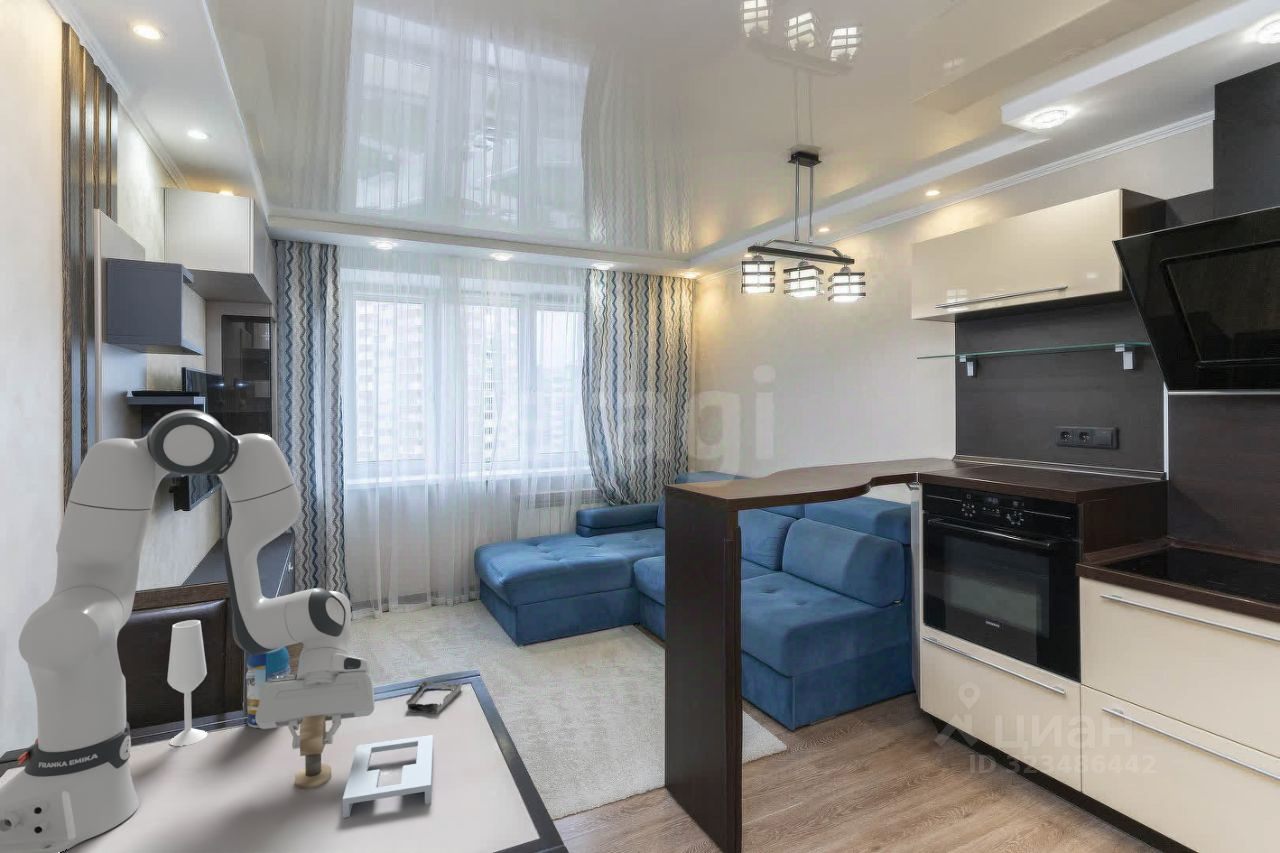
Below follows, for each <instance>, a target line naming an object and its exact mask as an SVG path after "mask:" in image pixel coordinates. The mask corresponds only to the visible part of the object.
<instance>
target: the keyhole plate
mask: <svg viewBox="0 0 1280 853" xmlns="http://www.w3.org/2000/svg"><path fill="white" fill-rule="evenodd" d="M414 747H417V752H416V761H415V763H411V764H405V765H403V766H402V773H401V778H400V779H401V781H400V783H396V784H390V785H386V786H385V785H383V786H378V785H379V780H380V775H381V774H380V773H381V772H380V769H372V770H369V767H370V766H369V765H370V762H371V757H372V753H373V754H374V753H379V752H380V753H381V752H387V751H393V750H400V749H401V750H402V749H407V748H414ZM433 762H434V735H433V734H429V735H422V736H415V737H408V738H401V739H400V738H399V739H393V740H385V741H378V742H372V743H371V742H370V743H365V744H358V745H357V746H356V750H355V753H354V756H353V759H352V763H351V764H352V765H351V768H350V771H349V775H348V778H347V782H346V785H345V789H344V793H343V797H342V819H344V818H350V816H351V812H352V808H353V804H356V803H362V802H369V801H374V800H381V799H386V798H387V799H389V798H393V797H399V796H404V795H405V796H406V795H411V794H417V793H423V792H424V805H427V804H431V803H432V791H433V790H432V788H433V787H432V786H433V768H434V766H433V764H434V763H433Z"/></svg>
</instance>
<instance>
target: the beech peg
mask: <svg viewBox="0 0 1280 853" xmlns="http://www.w3.org/2000/svg"><path fill="white" fill-rule="evenodd" d="M326 723H327V721H325V715H320V716H312V717H304V718H303V721H302V723H301V724H299V735H300V748H299V753H300V754H299V756H300V757H304V759H305V761H304V762H305V767H303V768H302V769H300V770H298V771H297V772H296V774H295V775H294V785H295V787H297V788H298V789H303V790H305V789H313V788H317V787H319V786H322V785H323V784H326V783H327V782H328V781H329V780H331V778H332V766H331V765H330V764H327V763H322V753H323V752H324V749H325V746H326V744H325V745H324V744H323V738H324V736H323V734H324V732H327V729H326V725H327V724H326Z"/></svg>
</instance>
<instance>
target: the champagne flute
mask: <svg viewBox="0 0 1280 853" xmlns="http://www.w3.org/2000/svg"><path fill="white" fill-rule="evenodd" d="M201 623H202V622H201V620H198V619H191V620H185V621H179V622H177V623H175V624H172V628H171V636H170V637H171V639H170V640H171V641H170V648H169V650H170V651H169V660H168V670H167V683H168V685H169V686H170V687H171V688H172V689H173V690H176V691H178V692H179V693H182V694H183V696H184V697H183V704H184V705H183V708H184V712H183V714H184V715H183V716H184V729H183V730H182V731H181V732H179V733H177V735H175V736H173V737H174V738H173V737H172V738H171V739H170V740H171V741H170V740H169V741H170V744H171V745H174V746H180V747H184V746H183V745H186V746H190V745H192V744H196V743H199V742H201V741H202V740H204V739H205V738H206V737H207V736H208V732H207V731H206V730H201V729H197V728H193V727H192V692H193V691H194V690H196V688H197V687H199V685H201V683H202V682H203V681H205V678H206V676H207V675H208V672H207V662H206V656H205V647H204V638H203V632H202V624H201ZM205 731H206V732H205ZM174 746H173V747H174Z"/></svg>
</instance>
